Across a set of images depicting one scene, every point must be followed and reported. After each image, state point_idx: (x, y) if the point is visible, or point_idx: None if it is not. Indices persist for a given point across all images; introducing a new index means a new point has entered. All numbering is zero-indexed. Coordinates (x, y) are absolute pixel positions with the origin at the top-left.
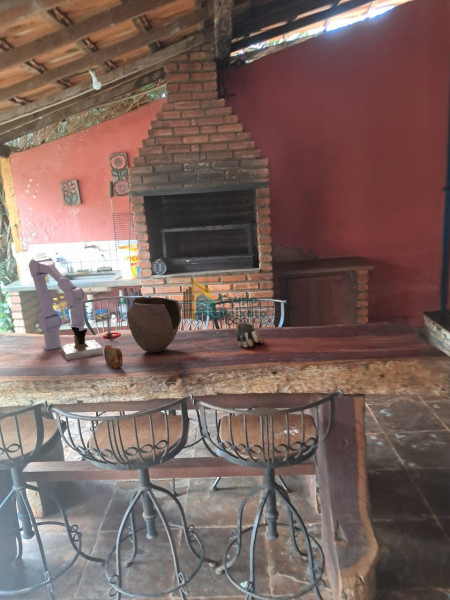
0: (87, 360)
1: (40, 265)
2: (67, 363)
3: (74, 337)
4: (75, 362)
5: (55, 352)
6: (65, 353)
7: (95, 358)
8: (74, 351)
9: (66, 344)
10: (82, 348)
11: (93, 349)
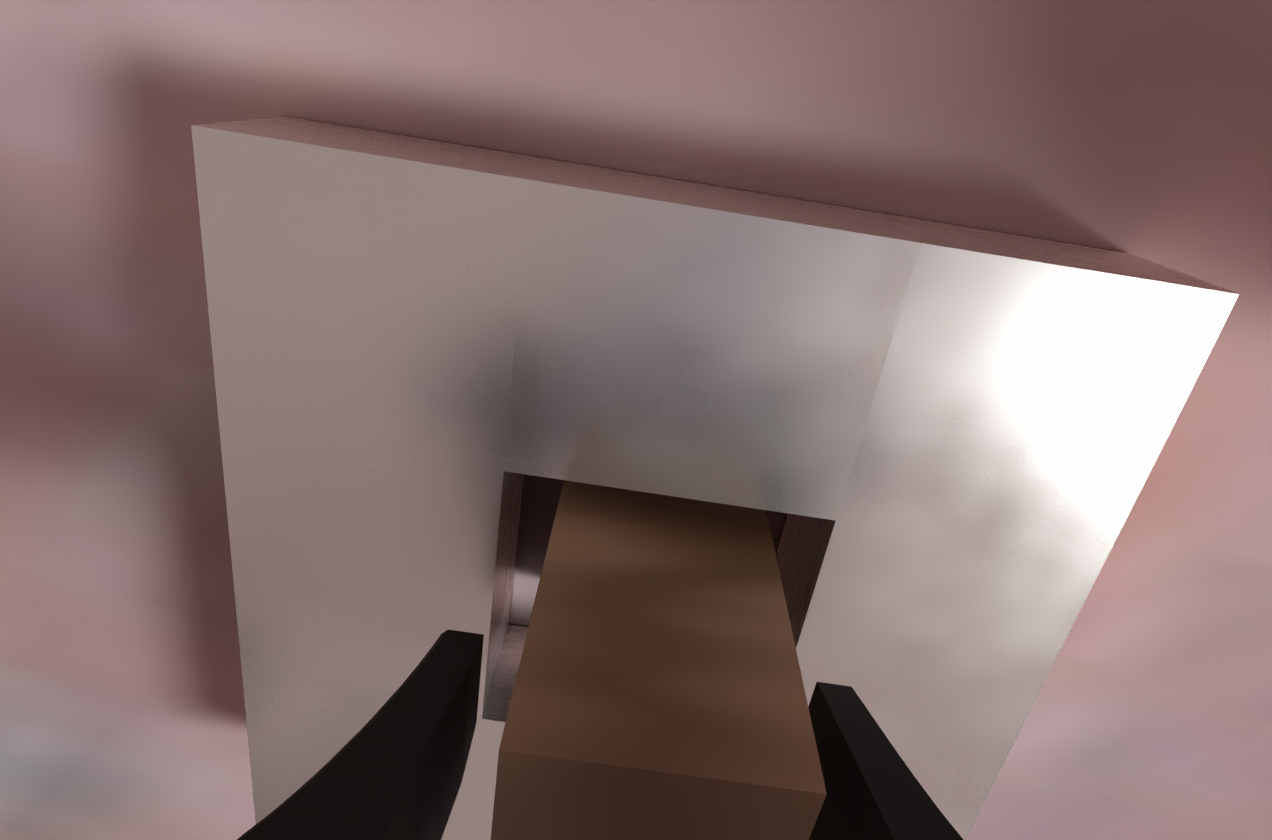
0: (39, 440)
1: None
2: (27, 38)
3: (765, 737)
4: (17, 215)
5: (1193, 112)
6: (345, 146)
7: (93, 577)
8: (297, 380)
9: (1144, 452)
10: (433, 593)
11: (252, 710)
